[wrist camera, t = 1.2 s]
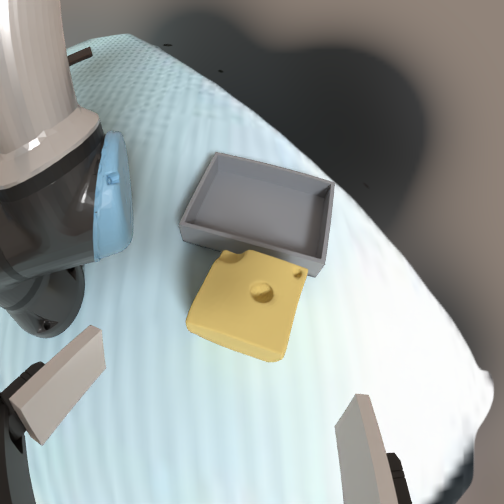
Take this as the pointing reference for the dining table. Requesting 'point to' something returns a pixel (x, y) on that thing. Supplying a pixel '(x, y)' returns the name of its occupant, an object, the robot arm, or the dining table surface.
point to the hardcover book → (79, 56)
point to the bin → (261, 211)
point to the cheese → (248, 304)
